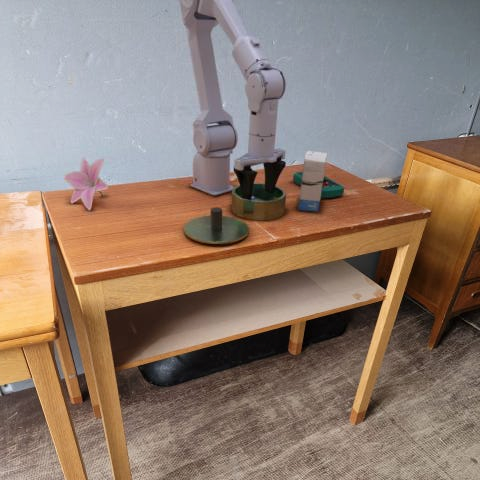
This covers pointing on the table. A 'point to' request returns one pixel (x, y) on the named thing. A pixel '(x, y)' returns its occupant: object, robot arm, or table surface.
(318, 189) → the ink box
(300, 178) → the digital multimeter
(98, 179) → the lily
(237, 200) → the pan
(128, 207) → the table surface
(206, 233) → the pan lid
